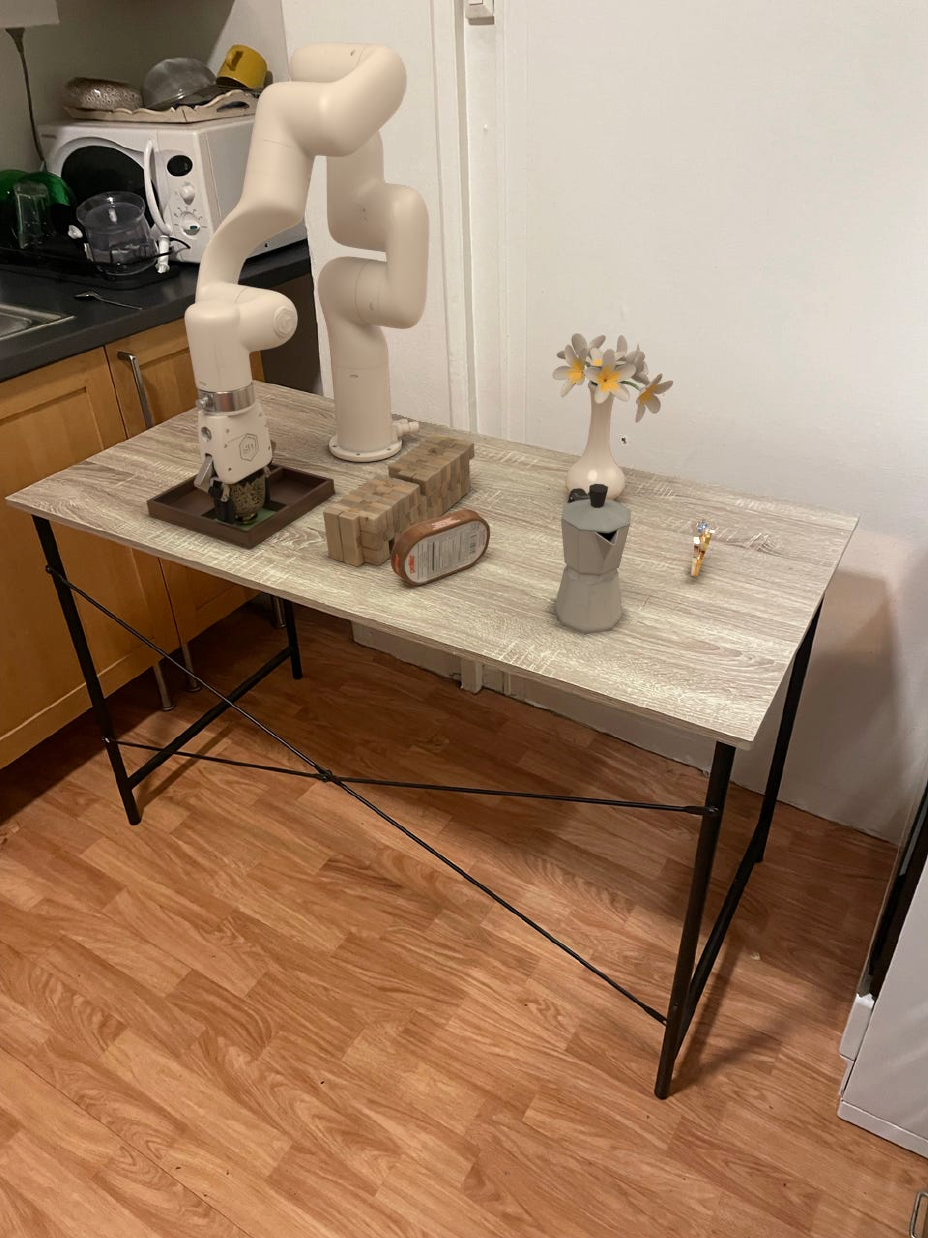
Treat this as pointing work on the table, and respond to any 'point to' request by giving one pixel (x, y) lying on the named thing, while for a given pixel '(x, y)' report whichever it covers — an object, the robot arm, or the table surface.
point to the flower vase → (605, 404)
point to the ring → (700, 543)
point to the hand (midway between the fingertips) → (244, 510)
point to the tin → (440, 546)
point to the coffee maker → (591, 560)
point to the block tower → (398, 500)
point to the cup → (247, 497)
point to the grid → (288, 503)
